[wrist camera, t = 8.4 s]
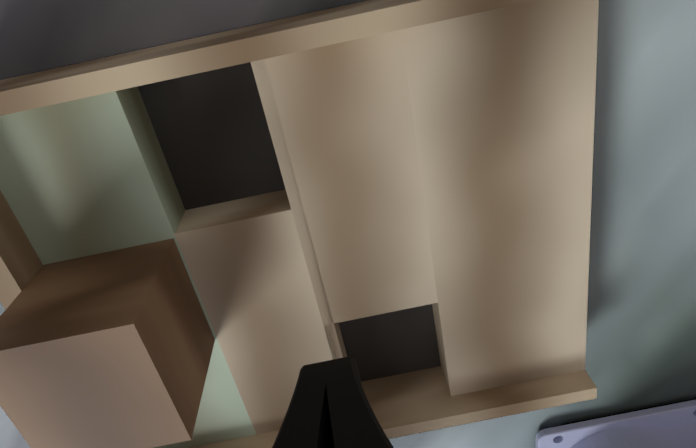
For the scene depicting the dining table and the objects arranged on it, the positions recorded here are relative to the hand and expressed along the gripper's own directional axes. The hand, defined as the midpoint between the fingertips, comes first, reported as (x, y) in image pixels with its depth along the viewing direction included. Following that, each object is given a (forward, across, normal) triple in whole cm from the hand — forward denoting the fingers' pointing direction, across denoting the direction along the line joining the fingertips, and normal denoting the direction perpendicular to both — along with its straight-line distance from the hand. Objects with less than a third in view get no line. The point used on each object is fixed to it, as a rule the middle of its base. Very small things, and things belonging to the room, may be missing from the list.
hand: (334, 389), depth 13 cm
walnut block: (+6, +7, 0) cm, 9 cm away
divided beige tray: (+8, 0, 0) cm, 8 cm away
